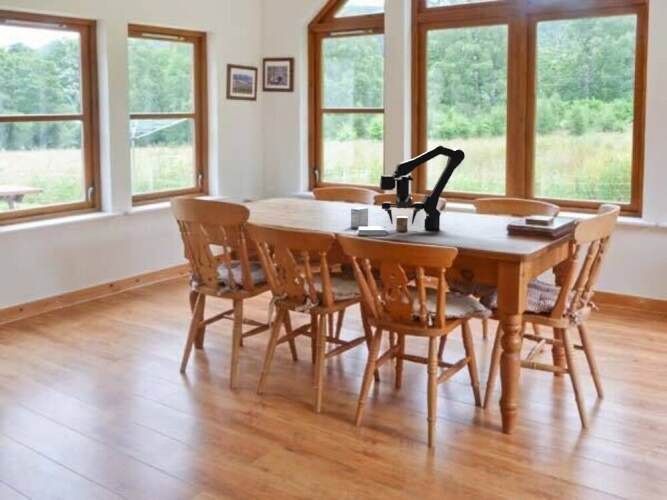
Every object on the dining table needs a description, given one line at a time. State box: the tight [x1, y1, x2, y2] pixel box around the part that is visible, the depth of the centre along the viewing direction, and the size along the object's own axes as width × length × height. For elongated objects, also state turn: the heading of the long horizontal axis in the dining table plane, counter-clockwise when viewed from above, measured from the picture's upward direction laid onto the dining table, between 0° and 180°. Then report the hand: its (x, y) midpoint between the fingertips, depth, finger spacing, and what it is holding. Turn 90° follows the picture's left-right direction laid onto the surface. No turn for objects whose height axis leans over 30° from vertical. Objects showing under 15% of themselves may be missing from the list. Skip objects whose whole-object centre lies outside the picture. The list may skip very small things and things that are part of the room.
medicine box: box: [350, 206, 369, 229], centre depth 361 cm, size 8×4×9 cm, turn 141°
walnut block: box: [395, 215, 409, 232], centre depth 351 cm, size 5×5×6 cm
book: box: [358, 226, 387, 237], centre depth 340 cm, size 12×9×3 cm
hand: (402, 224), depth 351 cm, fingers open, 9 cm apart
